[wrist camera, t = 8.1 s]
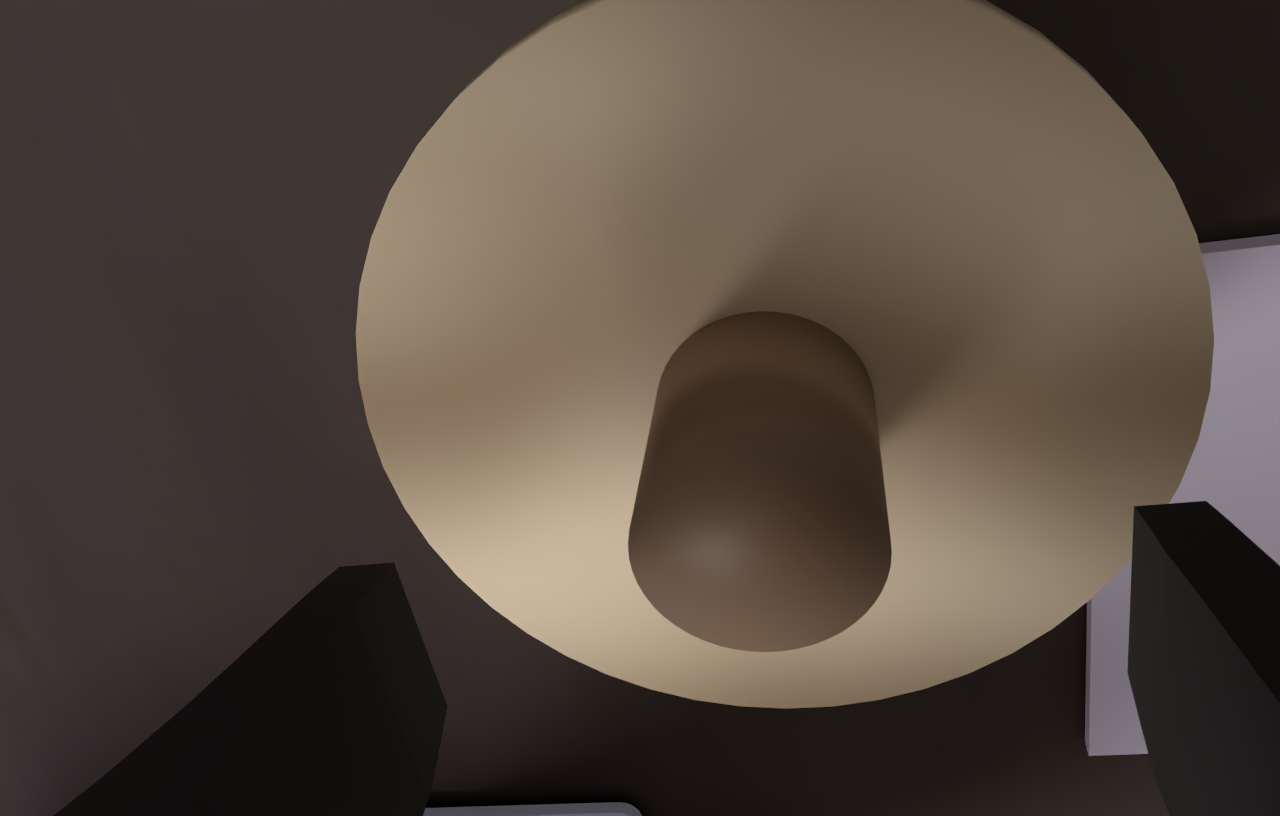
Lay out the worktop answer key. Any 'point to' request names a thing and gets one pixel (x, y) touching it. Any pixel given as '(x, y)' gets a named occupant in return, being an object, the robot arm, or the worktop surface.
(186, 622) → the worktop surface
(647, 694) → the worktop surface
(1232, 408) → the mat
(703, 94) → the lid
